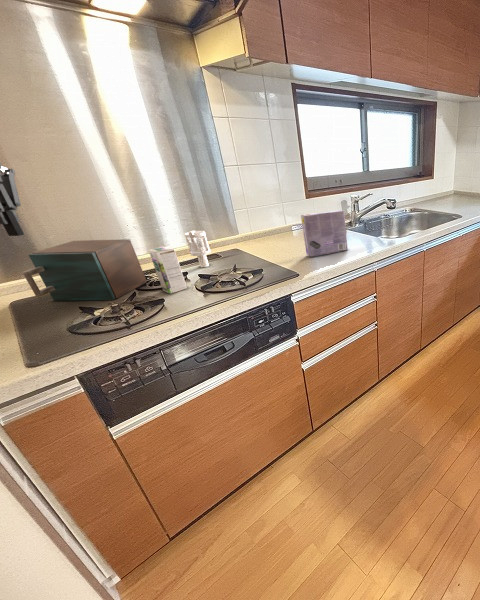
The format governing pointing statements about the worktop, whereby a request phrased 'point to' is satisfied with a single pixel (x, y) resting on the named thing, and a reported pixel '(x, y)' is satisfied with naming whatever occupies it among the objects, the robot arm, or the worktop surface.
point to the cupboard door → (69, 276)
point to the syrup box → (168, 269)
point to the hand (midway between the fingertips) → (16, 235)
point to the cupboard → (109, 261)
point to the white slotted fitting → (198, 246)
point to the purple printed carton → (324, 233)
